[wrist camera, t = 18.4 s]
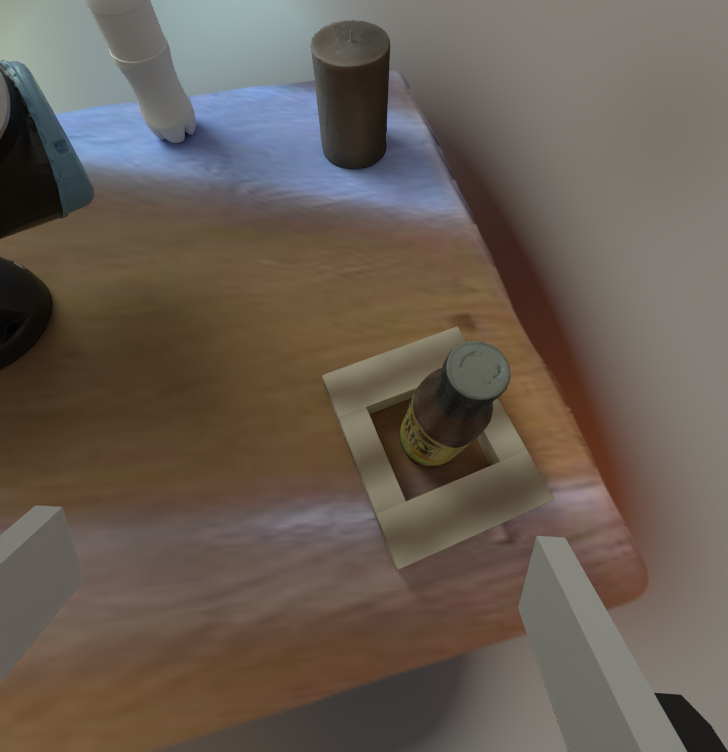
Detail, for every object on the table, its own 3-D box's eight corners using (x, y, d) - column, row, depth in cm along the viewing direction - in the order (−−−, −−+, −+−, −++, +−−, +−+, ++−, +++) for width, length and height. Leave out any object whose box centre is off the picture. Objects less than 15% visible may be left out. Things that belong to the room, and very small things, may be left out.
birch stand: (324, 385, 45) (321, 375, 43) (452, 339, 48) (457, 326, 45) (395, 568, 38) (398, 570, 35) (541, 502, 41) (554, 499, 38)
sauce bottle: (391, 419, 44) (412, 328, 26) (446, 406, 44) (505, 308, 26) (408, 478, 41) (444, 423, 23) (465, 463, 42) (545, 398, 24)
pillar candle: (399, 147, 61) (409, 28, 47) (352, 180, 58) (348, 63, 44) (354, 117, 64) (351, -3, 50) (307, 147, 61) (291, 28, 47)
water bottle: (159, 115, 64) (43, -130, 41) (204, 116, 63) (114, -129, 40) (147, 147, 61) (16, -98, 38) (195, 148, 61) (92, -96, 38)
